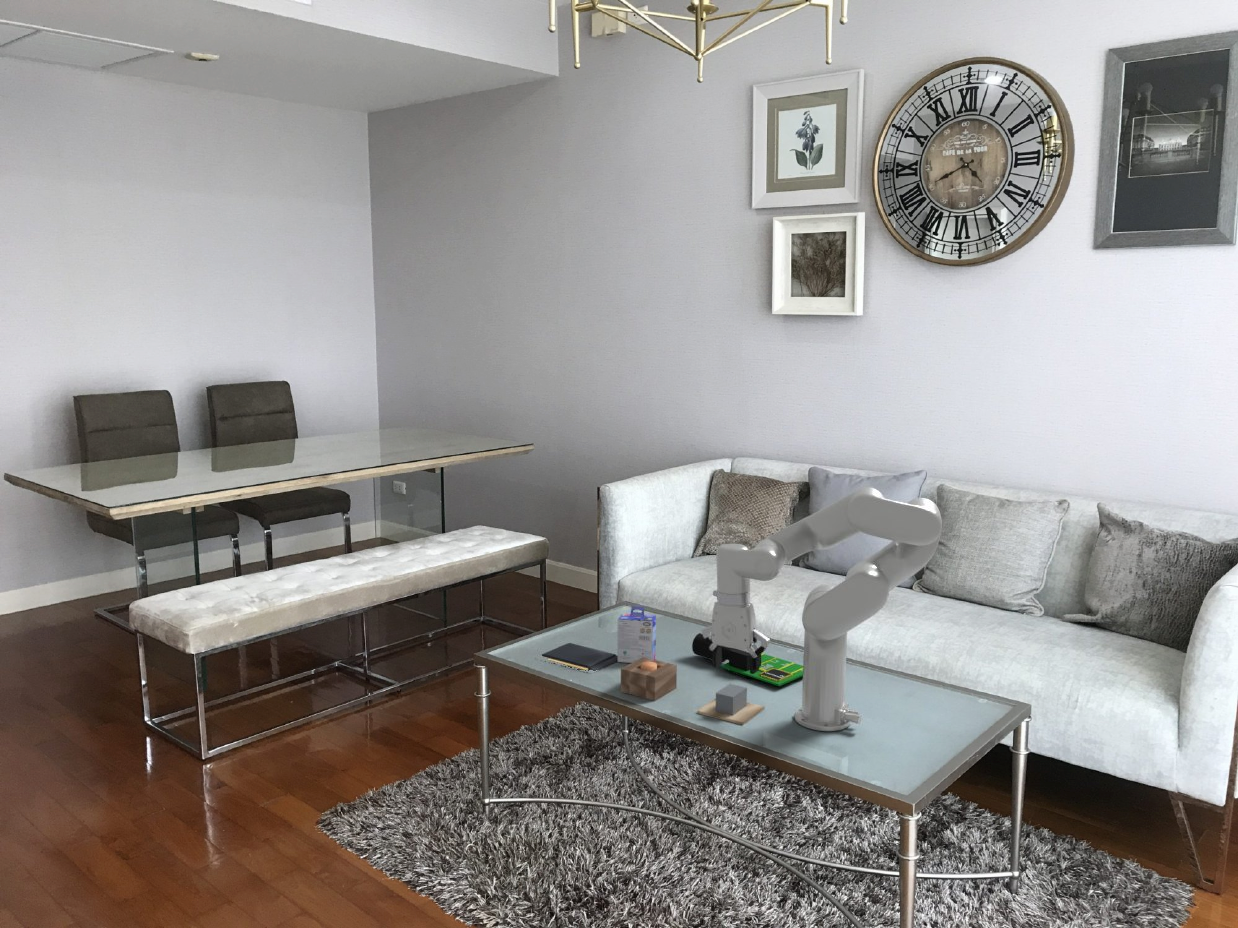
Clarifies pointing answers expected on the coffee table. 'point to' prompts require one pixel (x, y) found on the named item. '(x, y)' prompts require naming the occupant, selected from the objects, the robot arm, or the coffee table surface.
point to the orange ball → (648, 666)
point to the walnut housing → (649, 679)
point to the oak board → (738, 718)
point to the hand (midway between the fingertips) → (735, 668)
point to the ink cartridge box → (636, 636)
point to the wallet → (581, 657)
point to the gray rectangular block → (731, 699)
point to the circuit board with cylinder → (739, 663)
